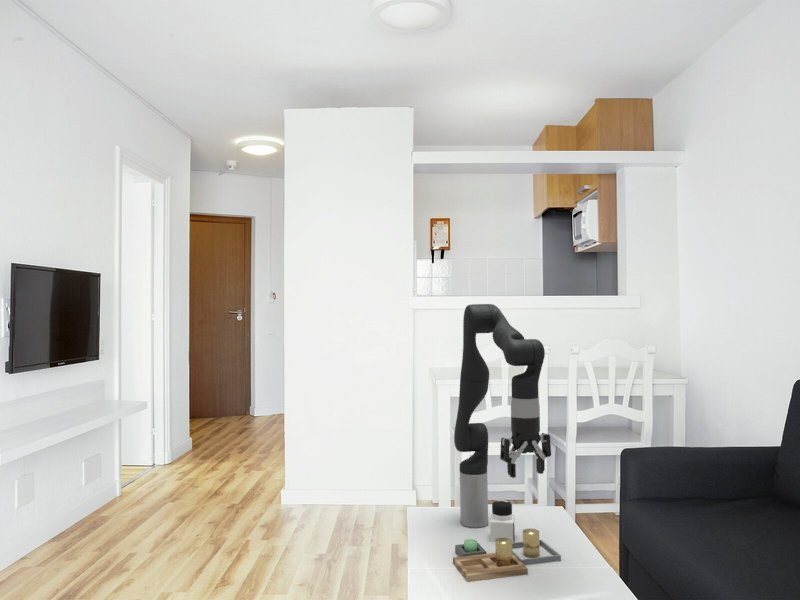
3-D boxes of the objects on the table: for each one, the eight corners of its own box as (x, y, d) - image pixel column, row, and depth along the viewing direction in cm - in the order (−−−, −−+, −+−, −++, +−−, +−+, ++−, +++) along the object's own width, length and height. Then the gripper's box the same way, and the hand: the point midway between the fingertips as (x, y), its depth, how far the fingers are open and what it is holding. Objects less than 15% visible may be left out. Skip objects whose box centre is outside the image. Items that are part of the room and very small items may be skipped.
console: (455, 555, 177) (455, 545, 177) (477, 552, 179) (477, 542, 179) (463, 565, 171) (463, 554, 171) (486, 562, 172) (486, 551, 172)
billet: (520, 553, 176) (520, 529, 177) (535, 551, 178) (534, 527, 178) (527, 559, 172) (527, 535, 172) (542, 558, 173) (541, 533, 173)
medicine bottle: (514, 546, 184) (513, 506, 184) (490, 544, 185) (489, 505, 185) (514, 537, 190) (513, 499, 191) (491, 536, 192) (490, 497, 192)
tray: (503, 552, 179) (503, 543, 179) (541, 547, 182) (541, 539, 182) (520, 569, 167) (520, 560, 167) (561, 564, 170) (561, 555, 170)
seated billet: (493, 564, 169) (492, 538, 169) (508, 562, 170) (508, 537, 170) (499, 571, 164) (499, 545, 164) (515, 569, 165) (514, 543, 165)
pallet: (453, 566, 170) (452, 557, 170) (509, 559, 174) (509, 550, 174) (467, 585, 158) (467, 575, 158) (527, 577, 162) (527, 568, 162)
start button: (462, 550, 176) (462, 539, 176) (474, 549, 177) (474, 538, 177) (466, 555, 173) (466, 544, 173) (478, 554, 173) (478, 543, 174)
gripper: (539, 409, 168) (540, 468, 168) (494, 414, 163) (495, 474, 163) (556, 414, 161) (557, 475, 161) (509, 419, 156) (510, 482, 156)
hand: (526, 475), depth 162 cm, fingers open, 8 cm apart
